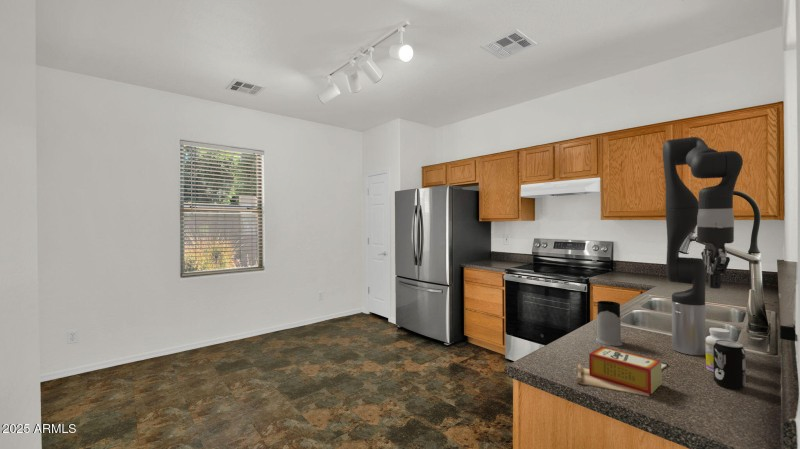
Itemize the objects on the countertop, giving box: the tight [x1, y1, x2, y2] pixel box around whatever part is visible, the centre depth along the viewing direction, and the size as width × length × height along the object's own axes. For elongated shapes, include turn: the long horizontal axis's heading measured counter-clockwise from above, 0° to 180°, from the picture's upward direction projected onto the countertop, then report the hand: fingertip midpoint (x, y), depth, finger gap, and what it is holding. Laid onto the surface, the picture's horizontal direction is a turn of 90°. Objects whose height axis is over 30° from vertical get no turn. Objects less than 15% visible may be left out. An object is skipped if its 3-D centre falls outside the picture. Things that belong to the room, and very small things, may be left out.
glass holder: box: [595, 300, 623, 347], centre depth 138 cm, size 9×14×15 cm, turn 143°
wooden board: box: [577, 362, 650, 397], centre depth 103 cm, size 12×17×2 cm
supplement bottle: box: [705, 327, 734, 373], centre depth 108 cm, size 7×7×13 cm
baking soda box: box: [588, 346, 663, 395], centre depth 103 cm, size 10×6×16 cm
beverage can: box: [713, 340, 747, 391], centre depth 99 cm, size 7×7×12 cm
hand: (714, 287), depth 97 cm, fingers closed
